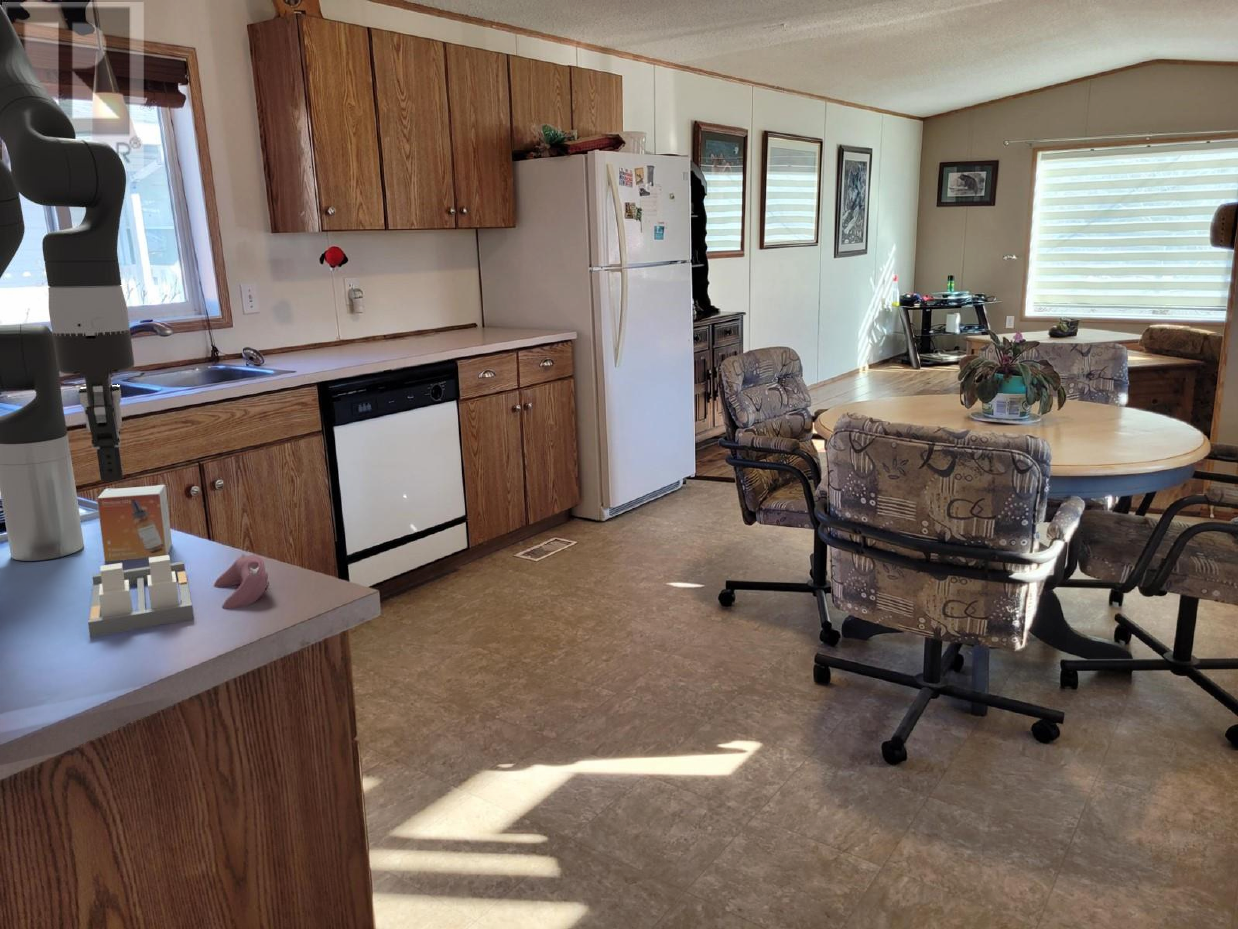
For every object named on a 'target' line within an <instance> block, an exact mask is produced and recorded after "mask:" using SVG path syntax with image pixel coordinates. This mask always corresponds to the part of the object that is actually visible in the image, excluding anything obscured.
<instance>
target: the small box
mask: <svg viewBox="0 0 1238 929" xmlns="http://www.w3.org/2000/svg"><path fill="white" fill-rule="evenodd" d="M96 502H97V510H98V518H99V526H100V533H101V534H100V535H101V540H102V541H101V542H102V549H103V559H104V562H105V563H107V562H113V561H114V562H115V561H116V562H117V561H126V560H135V559H137V560H139V559H149V558H150V557H157V556H164V555H169V552H170V550H171V548H172V547H173V541H172V540H173V539H172V534H171V522H170V514H169V505H168V496H167V487H166V484H157V485H148V486H136V487H135V486H133V487H122V488H121V487H120V488H119V487H118V488H113V487H112V488H105V489H104V490H103V491H102V492H101V493H100V495H99V496H98V497H97V501H96Z"/></svg>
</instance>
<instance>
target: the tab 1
mask: <svg viewBox="0 0 1238 929" xmlns="http://www.w3.org/2000/svg"><path fill="white" fill-rule="evenodd" d="M99 569H100V570H99V574H101V580H102V584H100V588H99V599H100V606H101V613H102V617H105V616H111V615H117V614H123V613H129V612H134V607H133V602H132V594H131V593H132V592H131V588H130V585H129V580H124V573H123V570H124V566H123V562H119V563H111V564H104V565H100V568H99Z"/></svg>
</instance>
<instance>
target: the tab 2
mask: <svg viewBox="0 0 1238 929" xmlns="http://www.w3.org/2000/svg"><path fill="white" fill-rule="evenodd" d="M170 563H171V558H170V554H167V555H164V556H157V557H149V558H148V564H149V566H150V573H151V575H147V577H148V582H147V587H148V589H147V590H148V595H149V603H150V609H153V608H159V607H165V606H172V605H178V604H180V599H179V598H180V597H179V591H178V584H177V582H178V581H177V578H176V575H175V571H173V572H171V564H170ZM149 566H148V567H149Z"/></svg>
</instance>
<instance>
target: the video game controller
mask: <svg viewBox="0 0 1238 929" xmlns="http://www.w3.org/2000/svg"><path fill="white" fill-rule="evenodd" d="M268 579H269V572H268V571H266V566H265V561H264V559H263V558H262V557H261V556H259V555H256V554H248V555H246V554H245V553H242V554H241V557H238V558H236V560H235V561H234V562H233V563H232V565H231V566H230V567H229V568H228V569H226V571H224V572H223V573H222V574H221V575H220V576H219V577H218V578H217V579H216V580H215V582H214V585H213V587H215V588H219V587H227V586H234V585H236V586H237V585H239V586H238V588H237V589H236V590H234V591H233V593H232V594H231V595H229V596H228V597H227V598H226V600H224V603H223V604H222V606H221V608H222V609H224V610H225V609H235V608H240V607H245V606H249V605H252V604H254V603H256V602H257V600H258V599H260V598H261V597H262V595H263V594H264V593H265V592H267V591H268V590H269V589H270V587H271V584H270V583H271V582H270V581H268Z"/></svg>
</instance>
